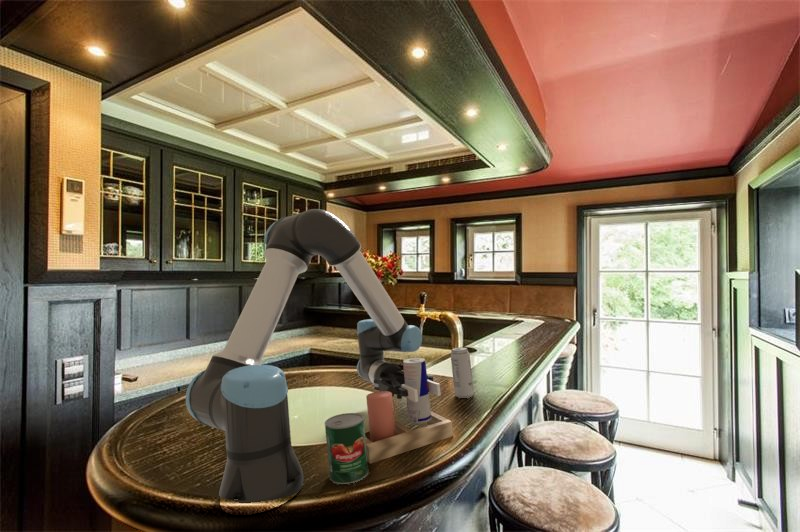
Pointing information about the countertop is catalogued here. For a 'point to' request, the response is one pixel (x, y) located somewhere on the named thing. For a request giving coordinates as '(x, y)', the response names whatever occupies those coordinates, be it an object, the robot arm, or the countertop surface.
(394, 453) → the holder
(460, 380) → the energy drink can
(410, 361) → the beverage can
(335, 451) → the canned tomato
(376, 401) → the plug
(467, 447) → the countertop surface
